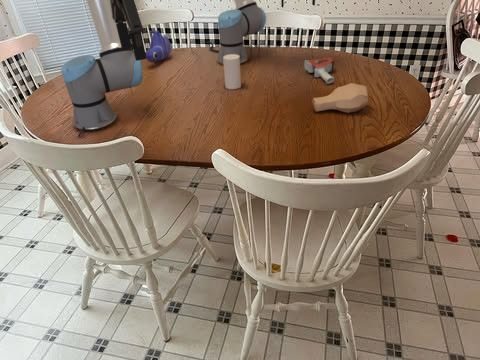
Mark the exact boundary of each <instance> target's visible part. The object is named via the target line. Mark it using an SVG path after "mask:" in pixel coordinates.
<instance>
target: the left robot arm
mask: <svg viewBox="0 0 480 360" xmlns="http://www.w3.org/2000/svg"><path fill="white" fill-rule="evenodd" d="M86 3H87V6H88V9H89V12H90V14H91V18H92V22H93V25H94V28H95V31H96V34H97V37H98V40H99V44H100V48H101V49H100V50H99V52H98V54H99V55H98V56H99V58H97V59H96V58H95V57H94V56H93V55H90V54H89V55H81V56H77V57H74V58H71V59H70V60H67V61H66V62H65V63H63V65H62V66H61V68H60V72H61V75H62V81H63V82H64V83H65V87H66V89H67V93H68V95H69V99H70V101H71V104H72V108H73V114H72V117H73V118H72V119H73V125H74V128H75V129H76V131H78V134H77V137H78V138H81V136H82V133H92V132H99V131H102V130H105V129H107V128H110V127H111V126H113V125H115V124H116V122H117V121H118V116H117V113H116V111H115V110H114V108H113V107H112V105H111V103H110V102H109V101H108V99H107V96H106V94H108V93H113V92H117V91H121V90H126V89H132V88H134V87H138V86H140V85H141V84H142V83H143V80H144V72H143V64H142V61H143V60H147V58H146V48H145V44H144V40H143V35H142V32H144V27H143V24H142V21H141V18H140V14H139V12H138V9H137V5H136V2H135V0H86Z"/></svg>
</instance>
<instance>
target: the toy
mask: <svg viewBox="0 0 480 360" xmlns="http://www.w3.org/2000/svg"><path fill="white" fill-rule="evenodd" d="M149 33H151V34H152V36H151V38H150V43H149V44H150V45H149V48H148V49H145V53H146V58H147V59H146V60H147V61H148V62H150V63H151V65H152V67H155V62H160V61H162V60H166V59H167V58H168V57H169V55H170V54H171V52H172V46H171V42H170V39H169V38H168V37H167V35H165V34H162V33H161V32H160V31H159V30H150V31H149Z"/></svg>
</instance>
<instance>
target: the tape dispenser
mask: <svg viewBox="0 0 480 360" xmlns="http://www.w3.org/2000/svg"><path fill="white" fill-rule="evenodd" d="M320 61H323V62H320ZM334 65H335V59H333V57H332V56H328V57H321V58H315V59H309V60H308V59H305V60H304V70H305V71H307V73H310V74H312V73H314V78H322V79H323V81H325V84H327V85H329V84H332V83H333V82H334V81H335V77H334V76H332V75H331V74H329V73H330V72H331V73H332V72H333V70H334Z"/></svg>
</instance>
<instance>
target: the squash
mask: <svg viewBox="0 0 480 360" xmlns="http://www.w3.org/2000/svg"><path fill="white" fill-rule="evenodd" d="M368 102H369V92H368V88H367V86H365V85H363V84H357V83H354V82H353V83H352V82H350V83H348V84H345V85H342V86H337V87H336V88H335V89H334V90H333V91H332V92H331V93H330V94H328V95H324V96H320V97H319V96H318V97H313V98H312V105H313V108H314V111H315V112H321V111H326V110H337V111H339V112H343V113H355V112H359V111H360V110H362V109H363V108H365V107H366V106H367V104H368Z"/></svg>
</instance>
